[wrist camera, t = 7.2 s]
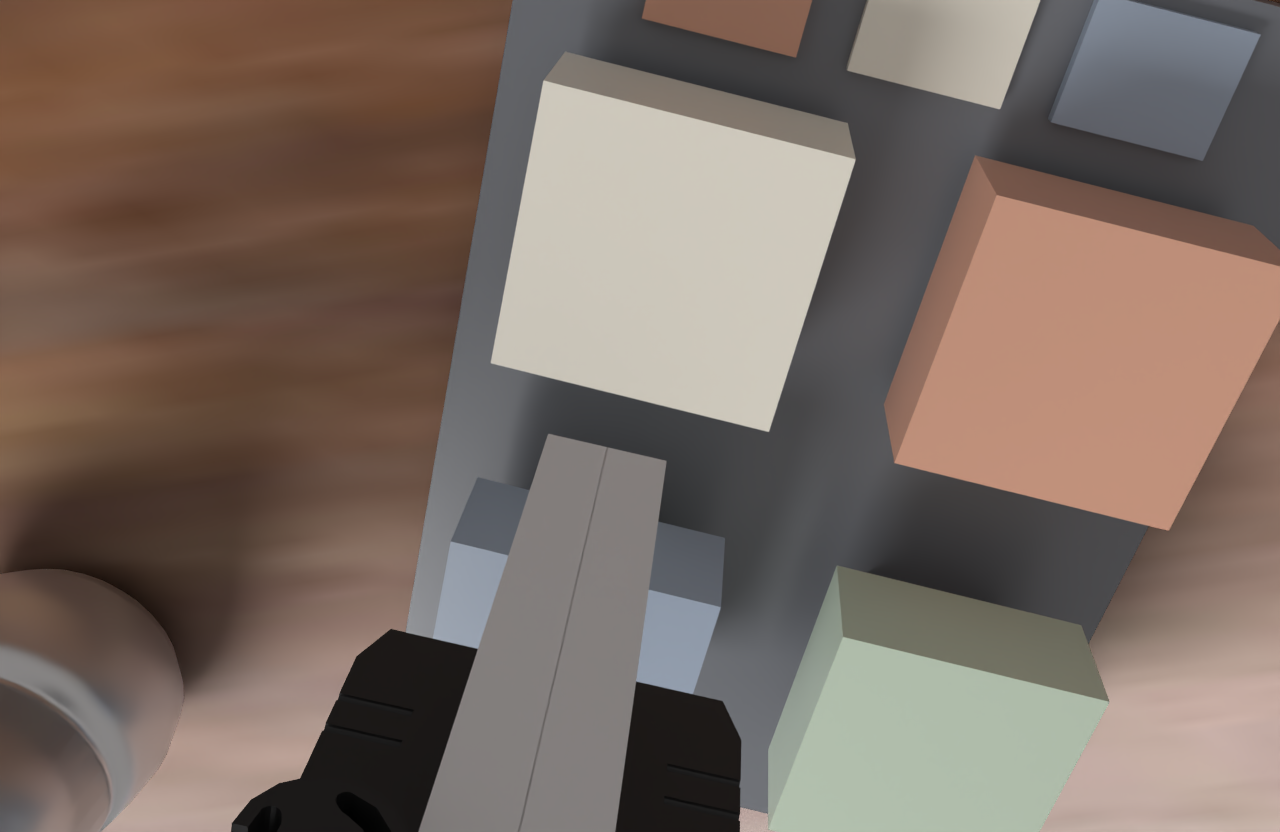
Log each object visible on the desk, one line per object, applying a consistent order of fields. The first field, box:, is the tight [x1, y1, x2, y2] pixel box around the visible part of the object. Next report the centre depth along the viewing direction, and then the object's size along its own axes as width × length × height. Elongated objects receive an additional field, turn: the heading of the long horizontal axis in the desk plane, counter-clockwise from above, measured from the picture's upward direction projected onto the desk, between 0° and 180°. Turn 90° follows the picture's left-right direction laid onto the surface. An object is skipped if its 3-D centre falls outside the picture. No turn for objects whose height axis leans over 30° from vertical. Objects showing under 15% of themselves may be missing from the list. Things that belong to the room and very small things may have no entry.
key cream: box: [491, 52, 856, 432], centre depth 23 cm, size 6×6×2 cm
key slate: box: [433, 477, 725, 694], centre depth 26 cm, size 6×6×2 cm
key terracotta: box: [884, 155, 1280, 531], centre depth 23 cm, size 6×6×2 cm
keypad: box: [406, 0, 1280, 814], centre depth 27 cm, size 16×22×3 cm
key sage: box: [768, 565, 1109, 832], centre depth 27 cm, size 6×6×2 cm
